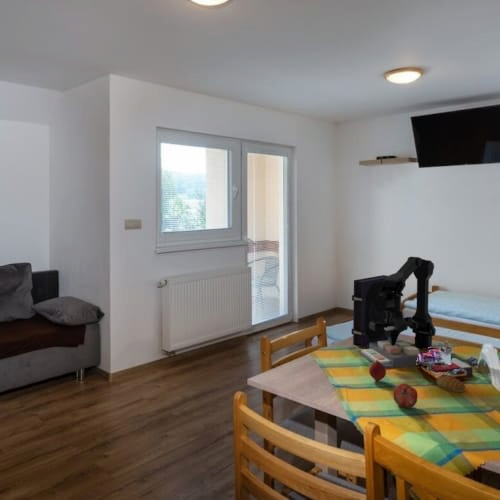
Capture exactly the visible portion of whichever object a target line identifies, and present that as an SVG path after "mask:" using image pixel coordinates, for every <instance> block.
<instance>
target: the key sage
mask: <svg viewBox="0 0 500 500" xmlns="http://www.w3.org/2000/svg"><path fill="white" fill-rule="evenodd" d="M395 345H396V346H397V347H399V348H400V351H402V350H403V347H410V346H411V344H410V343H408V342H406V341H403V342H396V343H395Z"/></svg>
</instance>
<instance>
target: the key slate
mask: <svg viewBox="0 0 500 500" xmlns="http://www.w3.org/2000/svg"><path fill="white" fill-rule="evenodd" d="M387 341H389V338H388V339H387ZM389 342H390V341H389ZM396 342H404V341H403V340H402V339H400V338H399V337H398V338H397V340H396Z"/></svg>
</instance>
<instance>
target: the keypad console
mask: <svg viewBox="0 0 500 500" xmlns="http://www.w3.org/2000/svg"><path fill="white" fill-rule="evenodd" d="M368 347H369V348H367V349H365V348H364V349H358V350H357V353H358V352H359V353H360V354H361V355H360V354H359V353H358V354H359V355H360V356H362V355H363V356H364V357H365V359H366V358H367V359H368V360H367V359H366V360H367V361H369V362H370V361H371V362H372V363H371V362H370V363H371V364H373V363H375V362H376V360H378V361H379V362H380V363H381V364H382V365H383V366H384V367H385V368H386V369H394V368H395V369H396V367H398V368H407V367H406V366H410V367H416V366H415V365H416V360H417V357H418V355H407V354H405V353H404V352H403V350H402V351H400V353H398V354H389V353H387V352H386V351H385V349H381V348H379V347H378V342H373V343H369V345H368ZM363 356H362V357H363ZM364 357H363V358H364Z"/></svg>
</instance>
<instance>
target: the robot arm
mask: <svg viewBox="0 0 500 500" xmlns="http://www.w3.org/2000/svg"><path fill="white" fill-rule="evenodd" d="M434 269H435V263H434V262H433V261H432V260H431V259H430V260H428V259H423V258H421V257H420V256H409V257H407V260H406V261H405V262H404V263H403V265H402V266H401V267H399V269H398V270H397V271H396V272H395V273H392V274H389V275H387V276H388V277H387V278H386V279H385V280H384V282H383V285H382V287H381V290H380V292H379V295H378V298H377V299H376V300H375V301H374V307H375V309H376V310H377V311H378V312H384V311H385V312H386V319H384V322H386V323H381V322H379V321H371V322H370V323H369V328H370V329H372V330H374V331H383V330H385V332H386V334H387V336H388V338H389V341H390V343H391V345H392V346H394V345H395V343H396V340H397V338H399V336H400V334H401V333H403V332H405V331H407V330H408V328H409V329H410V330H412V332H411V333H412V334H415V336H414V344H413V345H412V346H414V347H415V348H417V347H418V348H417V349H419V348H421V349H420V350H424V349H423V348H428V347H430V346H432V347H433V337H435V335H436V331H437V329H436V328H435V326H434V324H433V318H432V316H431V314H430V313H429V291H430V290H429V289H430V288H429V286H430V278H432V276H433V274H434ZM412 274H413V275H414V278H415V279H416V312H415V313H414V314H413V315H412V316H406V317H405V316H404V315H403V314H404V313H403V311H402V297H404V293H403V291H404V289H405V288H406V281H407V280H408V279H409V278H410V276H411V275H412ZM385 290H387V291H385ZM391 291H392V292H391Z"/></svg>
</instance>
